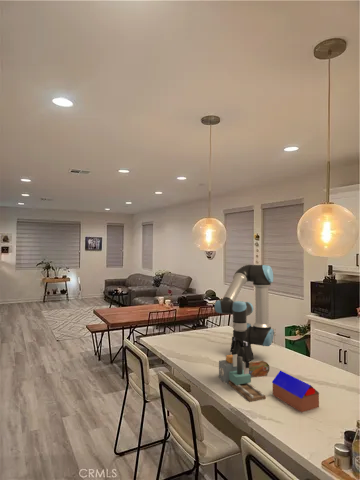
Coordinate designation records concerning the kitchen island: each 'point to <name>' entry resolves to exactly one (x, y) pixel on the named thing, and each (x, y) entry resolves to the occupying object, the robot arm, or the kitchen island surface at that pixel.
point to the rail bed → (248, 391)
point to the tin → (258, 368)
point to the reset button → (229, 358)
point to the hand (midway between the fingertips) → (240, 369)
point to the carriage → (239, 374)
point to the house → (295, 392)
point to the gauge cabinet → (226, 370)
